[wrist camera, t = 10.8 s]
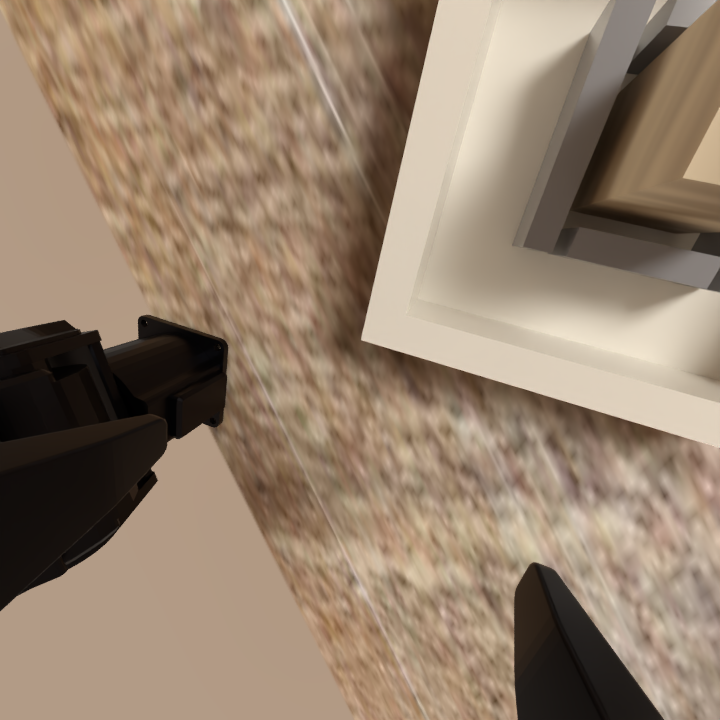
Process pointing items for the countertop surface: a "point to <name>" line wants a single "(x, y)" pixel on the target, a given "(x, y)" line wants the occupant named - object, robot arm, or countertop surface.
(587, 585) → the countertop surface
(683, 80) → the wooden block
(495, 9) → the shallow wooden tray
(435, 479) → the countertop surface
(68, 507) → the robot arm
